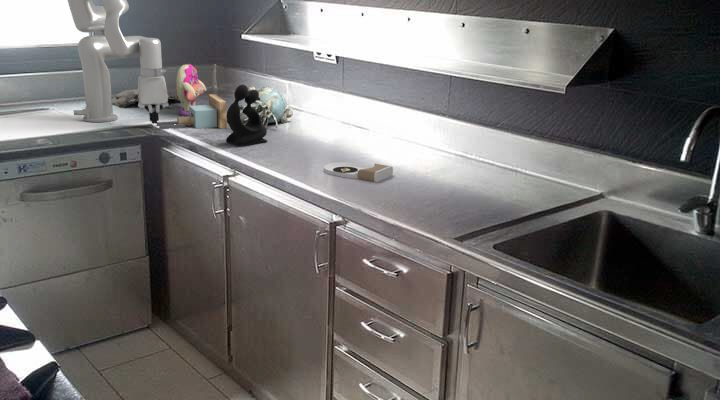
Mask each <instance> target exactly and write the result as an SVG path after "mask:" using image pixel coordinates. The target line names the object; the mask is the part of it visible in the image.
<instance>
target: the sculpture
mask: <svg viewBox="0 0 720 400" xmlns="http://www.w3.org/2000/svg"><path fill="white" fill-rule="evenodd" d="M247 88H248V92H249V91H250V90H253V89H254V90H257V89H256V88H255V87H254V86H247ZM257 91H258V92H259V98H260V100H257V101H255V102H254V103H252V104H251V107H253V108H254V109H255V110H257V112H258V113H259V115H260V118H261V122H262V124H263V125H264V126H265V128H266V130H267V129H268V124H272V123H275V129H278V127H279V126H278V123H283V124H286V123H287V122H288V119H289V118H292V117H293V115H294V112H293V110H292V109H291V108H287V105H288V102H287V99H286V98H285V96H283V95H282V94H281V92H280V91H278V90H277V89H276V88H275V89H274V88H273V87H271V85H269V86H268V85H266V86H263V87H261V88H260V89H258V90H257ZM239 106H240V118H242V117H243V116H246V115H245V114H244V113H242V111H243V109H244V108H245V107H246V106H247V104H246V105H239ZM243 121H244V122H245V124H246V123H247V122H248V117H247V116H246V118H245V119H243ZM245 124H244V125H245Z"/></svg>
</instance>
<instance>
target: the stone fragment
mask: <svg viewBox="0 0 720 400" xmlns="http://www.w3.org/2000/svg"><path fill="white" fill-rule="evenodd" d="M167 95H168V99H173V100H175V101H177V102H181V101H180V100H179V97H178V95H176V94H172V93H170V92H169V93H167ZM136 102H139V101H138V88H134V89H125V90H123V91H121V92H119V93H117V94H115V96H113V98H112V104H115V106H116V107H118V108H121V109H124V108H127V106H128V107H129V106H130V105H136Z"/></svg>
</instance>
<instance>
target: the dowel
mask: <svg viewBox="0 0 720 400" xmlns="http://www.w3.org/2000/svg"><path fill="white" fill-rule="evenodd" d="M176 121H177V124H184V125H185V126H187V127H194V117H190V116H181V117H179V116H178V117H177V118H176Z"/></svg>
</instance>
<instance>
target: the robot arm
mask: <svg viewBox="0 0 720 400" xmlns="http://www.w3.org/2000/svg"><path fill="white" fill-rule="evenodd" d="M99 1H100V3H101V5H95V3H94V2H93V0H67V3H68V7H69V11H70V14H71V16H72V17H71V18H72V20H73V23H74V26H75V28H76V29H77V30H78V31H79V32H81V33H98V34H97V35H95V34H93V35H87V36H84V37H82V38H81V39H80V40H79V41H78V43H77V51H78V53H77V54H78V56H79V60H80V63H81V69H82V78H83V85H84V86H83V87H84V89H83V90H84V98H85V107H84V108H82V109H74V110H73V115H74V116H82V120H83V121H84V122H86V123H87V122H89V123H106V122H114V121H117V120H118V118H119V116H118V115H117V114H114V109H113V102H112V100H113V98H112V95H113V94H112V86H111V85H112V84H111V74H110V70H109V68H108V66H107V64H106V62H105V61H113V60H117V59H130V58H139V63H140V64H139V65H140V75H139V76H138V78H137V79H138V80H137V89H138V101H137V102H138V104H137V107H138V108H140V109H145V110H146V111H147V112H148V113H149V121H150V122H151V123H152V124H153V125H154V124H156V125H157V122H158V121H159V119H160V118H159V113H160V111H161V110H162V109H163V108H167V107H169V102H168V101H169V98H168V95H167V94H168V88H167V83H166V78H165V76H164V75H165V74H167V69H164V68H163V59H162V43H161V40H160V39H159V38H157V37H146V36H142V35H128V36H124V35H123V33H122V30H121V28H120V23H119V22H120V21H119V20H120V17H121V16H123V15H124V14H126V12H127V11H129V9H130V6H129V2H128V0H99ZM152 105H154V110H153V106H152ZM159 122H160V121H159Z"/></svg>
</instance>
